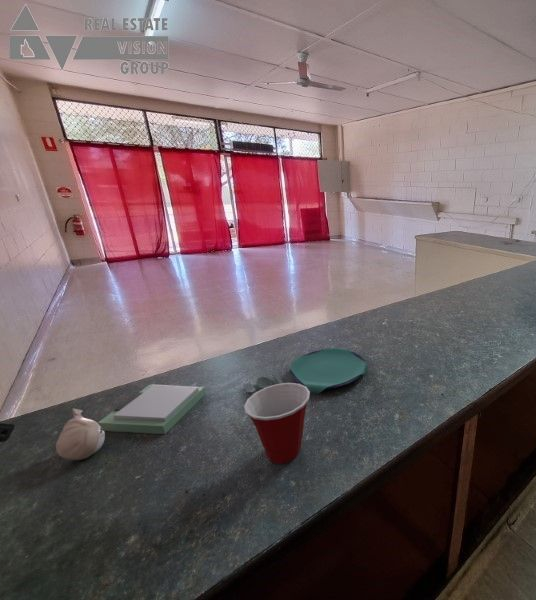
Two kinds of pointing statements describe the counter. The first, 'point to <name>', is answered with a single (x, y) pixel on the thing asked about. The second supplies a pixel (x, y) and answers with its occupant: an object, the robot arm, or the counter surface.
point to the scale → (153, 409)
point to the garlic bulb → (79, 438)
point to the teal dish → (321, 370)
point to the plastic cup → (279, 419)
